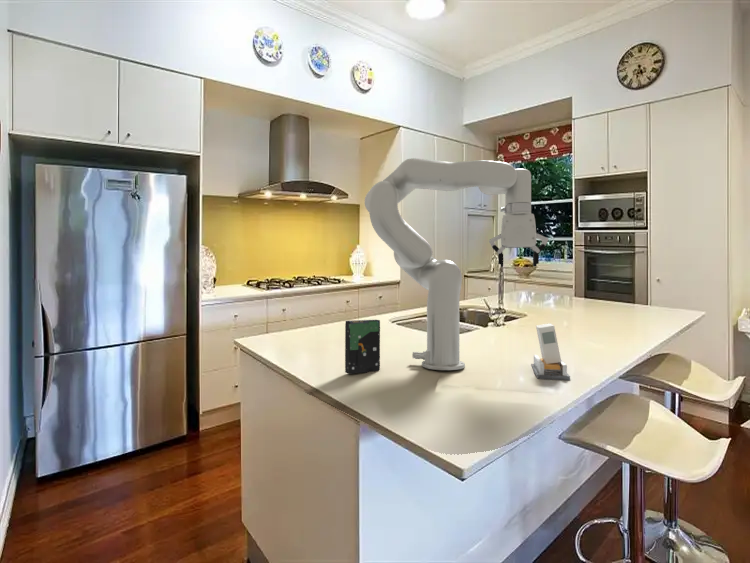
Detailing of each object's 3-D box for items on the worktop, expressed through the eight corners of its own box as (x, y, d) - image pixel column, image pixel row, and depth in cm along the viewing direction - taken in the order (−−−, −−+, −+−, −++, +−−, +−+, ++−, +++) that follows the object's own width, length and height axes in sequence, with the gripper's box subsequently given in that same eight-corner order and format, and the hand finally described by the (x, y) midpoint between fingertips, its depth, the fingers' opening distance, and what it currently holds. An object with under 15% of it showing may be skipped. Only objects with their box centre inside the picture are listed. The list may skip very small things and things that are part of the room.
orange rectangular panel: (544, 369, 119) (544, 365, 119) (539, 361, 130) (539, 358, 130) (560, 369, 118) (560, 366, 118) (553, 362, 129) (553, 358, 129)
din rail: (537, 378, 117) (537, 364, 117) (531, 367, 133) (531, 354, 133) (570, 380, 115) (570, 365, 115) (559, 368, 131) (559, 355, 131)
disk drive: (375, 369, 130) (375, 318, 130) (380, 370, 128) (380, 319, 128) (344, 372, 125) (344, 320, 125) (348, 374, 122) (348, 321, 122)
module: (546, 364, 121) (539, 328, 121) (542, 359, 128) (535, 325, 128) (561, 362, 120) (554, 325, 120) (557, 357, 127) (550, 323, 127)
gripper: (489, 209, 134) (489, 266, 134) (550, 207, 130) (550, 265, 130) (488, 213, 141) (488, 267, 141) (546, 211, 137) (546, 266, 137)
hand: (518, 266), depth 135 cm, fingers open, 9 cm apart
